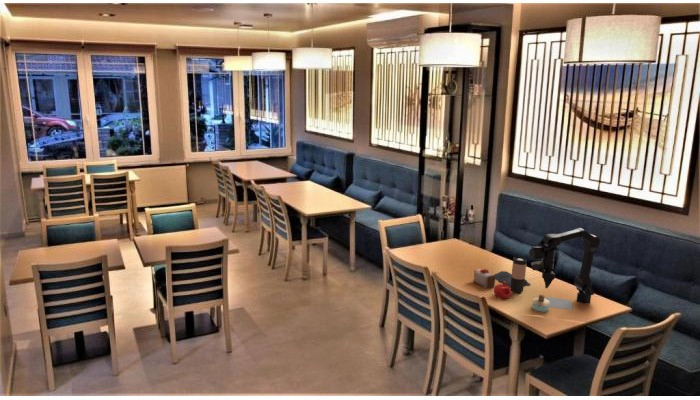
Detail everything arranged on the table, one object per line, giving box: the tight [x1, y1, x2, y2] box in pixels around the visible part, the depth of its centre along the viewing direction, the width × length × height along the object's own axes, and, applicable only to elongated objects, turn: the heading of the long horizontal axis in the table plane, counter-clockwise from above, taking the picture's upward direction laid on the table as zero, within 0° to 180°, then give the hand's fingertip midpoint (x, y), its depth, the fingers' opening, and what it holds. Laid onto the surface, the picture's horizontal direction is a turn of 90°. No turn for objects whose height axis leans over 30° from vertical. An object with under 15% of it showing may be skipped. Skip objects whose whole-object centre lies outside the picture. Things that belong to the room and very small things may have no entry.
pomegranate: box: [493, 281, 513, 300], centre depth 293 cm, size 10×10×9 cm
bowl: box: [531, 303, 550, 313], centre depth 278 cm, size 8×8×4 cm
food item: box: [473, 268, 496, 290], centre depth 310 cm, size 14×8×10 cm, turn 27°
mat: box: [545, 296, 574, 311], centre depth 286 cm, size 13×14×1 cm
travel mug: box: [510, 256, 528, 294], centre depth 301 cm, size 8×8×20 cm
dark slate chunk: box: [493, 270, 531, 289], centre depth 317 cm, size 15×22×5 cm
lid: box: [531, 294, 550, 306], centre depth 277 cm, size 9×9×4 cm
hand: (545, 284), depth 282 cm, fingers open, 9 cm apart
